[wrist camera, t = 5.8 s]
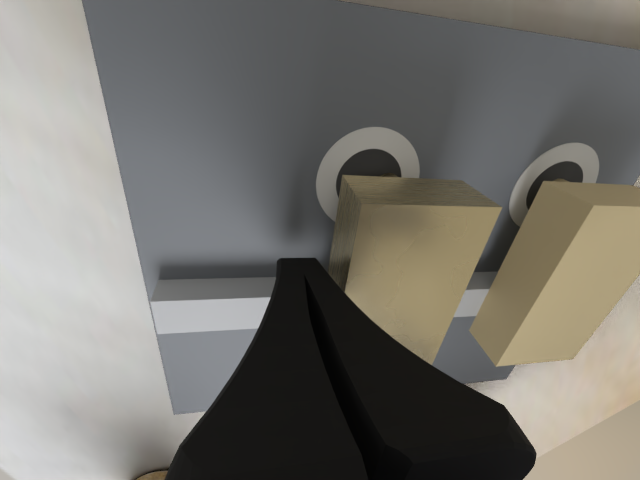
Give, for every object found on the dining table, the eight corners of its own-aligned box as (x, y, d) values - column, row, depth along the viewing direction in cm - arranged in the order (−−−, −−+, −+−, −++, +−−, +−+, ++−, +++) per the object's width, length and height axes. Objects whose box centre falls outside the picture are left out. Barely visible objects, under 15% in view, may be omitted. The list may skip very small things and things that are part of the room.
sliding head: (395, 322, 15) (424, 380, 12) (312, 326, 14) (325, 390, 12) (444, 168, 11) (502, 207, 9) (334, 162, 10) (362, 203, 8)
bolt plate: (494, 363, 22) (544, 429, 18) (178, 393, 17) (158, 487, 14) (676, 59, 12) (856, 68, 9) (94, -33, 8) (-35, -92, 4)
